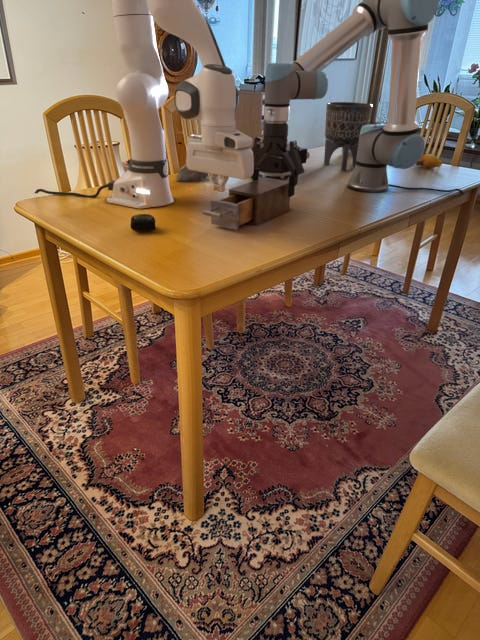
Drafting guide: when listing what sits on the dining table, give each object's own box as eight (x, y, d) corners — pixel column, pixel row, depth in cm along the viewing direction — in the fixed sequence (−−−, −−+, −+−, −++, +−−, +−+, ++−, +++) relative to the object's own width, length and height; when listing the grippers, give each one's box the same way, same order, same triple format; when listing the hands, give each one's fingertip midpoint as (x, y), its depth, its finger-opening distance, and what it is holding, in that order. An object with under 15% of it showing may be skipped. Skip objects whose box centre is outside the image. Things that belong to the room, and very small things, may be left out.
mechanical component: (240, 120, 182) (283, 115, 202) (239, 174, 192) (280, 164, 212) (283, 126, 170) (325, 120, 190) (280, 183, 180) (320, 171, 200)
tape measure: (131, 234, 126) (129, 221, 124) (132, 226, 132) (131, 213, 130) (155, 233, 127) (154, 220, 125) (156, 225, 133) (155, 213, 131)
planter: (313, 167, 208) (319, 103, 195) (331, 160, 222) (338, 101, 209) (353, 173, 199) (362, 107, 185) (369, 166, 213) (379, 104, 199)
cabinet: (256, 225, 135) (257, 194, 131) (228, 218, 140) (228, 189, 136) (289, 209, 150) (291, 181, 145) (263, 204, 155) (264, 177, 150)
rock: (201, 174, 189) (200, 158, 186) (213, 179, 184) (213, 162, 180) (174, 179, 182) (173, 162, 178) (186, 184, 176) (186, 167, 173)
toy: (416, 161, 206) (411, 154, 219) (419, 175, 209) (413, 167, 222) (442, 153, 203) (435, 147, 216) (444, 167, 206) (437, 160, 219)
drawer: (224, 235, 124) (224, 210, 121) (198, 229, 129) (198, 204, 125) (270, 214, 142) (272, 191, 138) (247, 209, 146) (247, 186, 143)
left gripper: (179, 134, 119) (182, 187, 126) (243, 142, 109) (242, 199, 116) (195, 131, 124) (196, 183, 131) (257, 139, 114) (256, 194, 121)
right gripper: (235, 119, 140) (234, 188, 151) (307, 126, 128) (301, 201, 139) (248, 117, 145) (247, 184, 156) (319, 124, 133) (312, 196, 144)
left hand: (218, 191), depth 124 cm, fingers closed
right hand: (272, 192), depth 147 cm, fingers open, 13 cm apart
